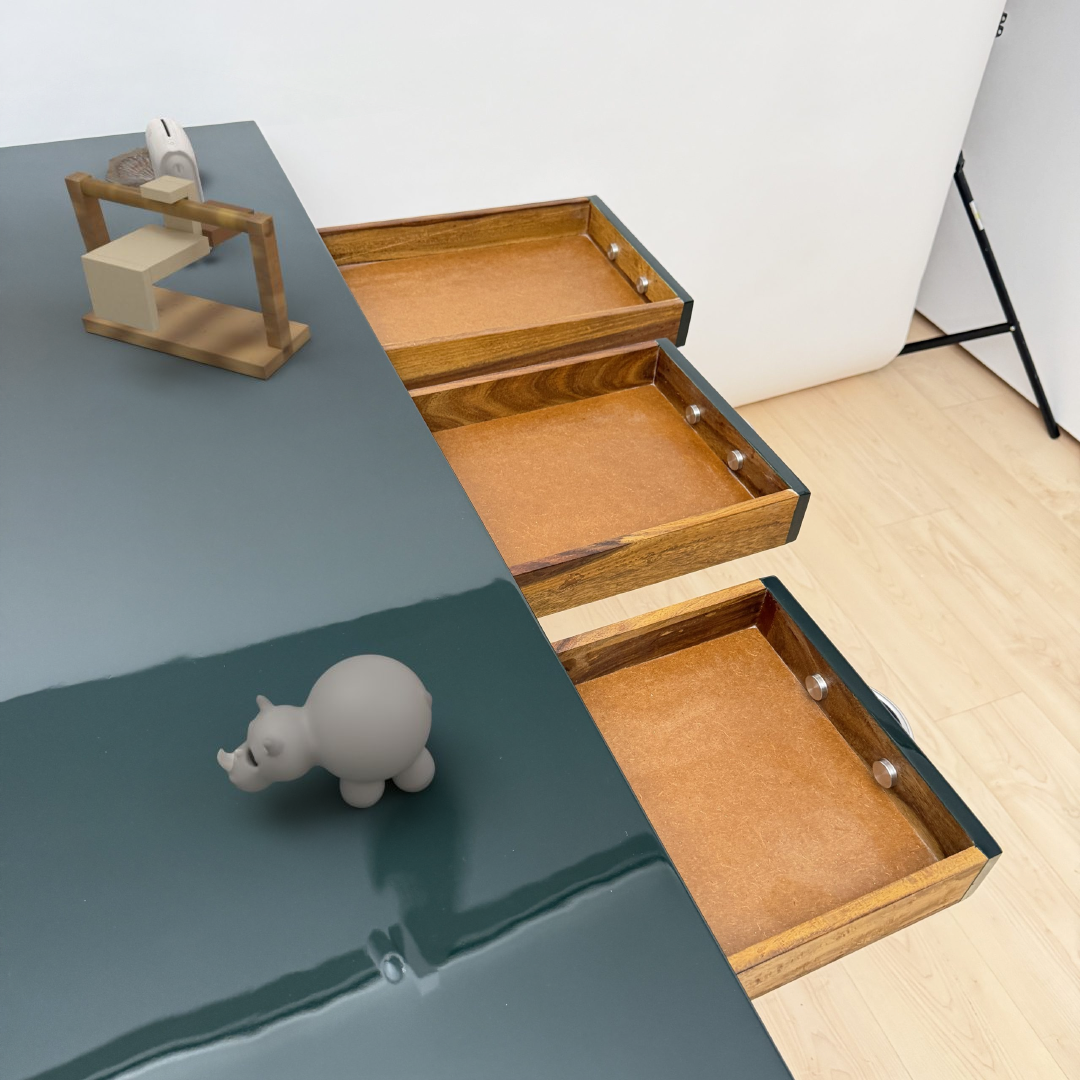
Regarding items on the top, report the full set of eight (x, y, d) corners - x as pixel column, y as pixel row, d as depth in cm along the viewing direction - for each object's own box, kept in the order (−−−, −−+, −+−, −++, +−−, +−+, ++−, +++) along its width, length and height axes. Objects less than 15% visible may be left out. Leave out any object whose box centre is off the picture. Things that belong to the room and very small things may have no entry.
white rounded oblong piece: (218, 254, 99) (194, 139, 91) (177, 259, 98) (150, 144, 89) (201, 215, 106) (178, 105, 97) (163, 220, 104) (136, 108, 96)
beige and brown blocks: (68, 204, 72) (198, 152, 85) (94, 317, 78) (212, 253, 91) (131, 219, 71) (253, 164, 83) (153, 333, 77) (264, 265, 90)
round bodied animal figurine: (227, 750, 55) (197, 664, 49) (418, 703, 58) (413, 616, 52) (240, 857, 50) (209, 776, 44) (448, 798, 53) (445, 715, 47)
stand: (85, 331, 87) (38, 191, 77) (138, 294, 92) (100, 158, 83) (266, 380, 83) (240, 238, 73) (310, 338, 88) (291, 201, 79)
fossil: (109, 211, 107) (100, 188, 105) (120, 168, 115) (111, 146, 113) (198, 201, 108) (191, 178, 106) (203, 159, 116) (196, 137, 114)
